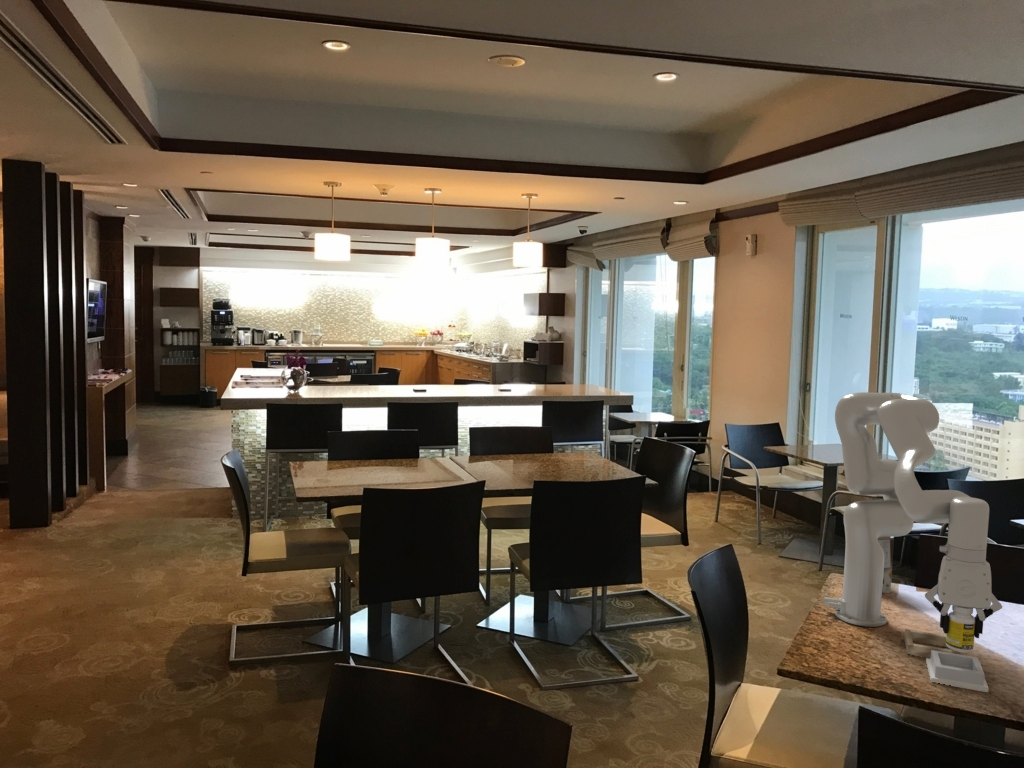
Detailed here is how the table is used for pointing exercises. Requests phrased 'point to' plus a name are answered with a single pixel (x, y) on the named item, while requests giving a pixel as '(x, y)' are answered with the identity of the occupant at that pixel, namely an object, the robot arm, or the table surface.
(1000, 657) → the table surface
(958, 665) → the socket
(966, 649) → the supplement bottle
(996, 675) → the table surface
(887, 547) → the coffee box
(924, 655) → the beige square frame
